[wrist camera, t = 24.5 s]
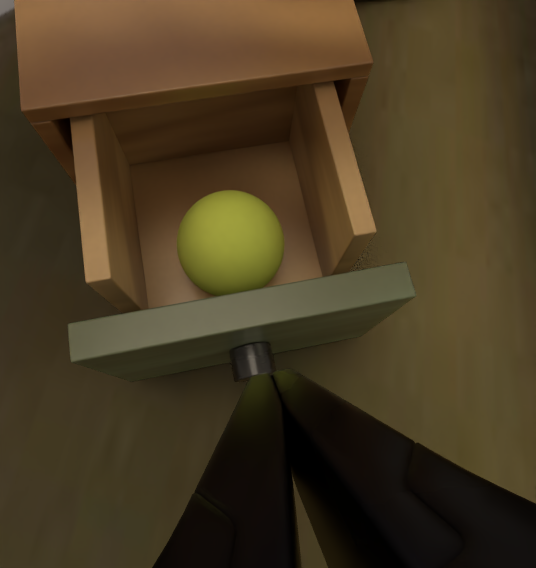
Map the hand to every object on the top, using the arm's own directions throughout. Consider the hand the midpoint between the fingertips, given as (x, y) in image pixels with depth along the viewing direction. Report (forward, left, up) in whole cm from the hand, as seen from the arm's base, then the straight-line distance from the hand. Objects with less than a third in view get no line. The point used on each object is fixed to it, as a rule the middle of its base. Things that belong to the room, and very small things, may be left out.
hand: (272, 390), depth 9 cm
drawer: (+7, -2, -12) cm, 14 cm away
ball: (+6, -2, -8) cm, 11 cm away
